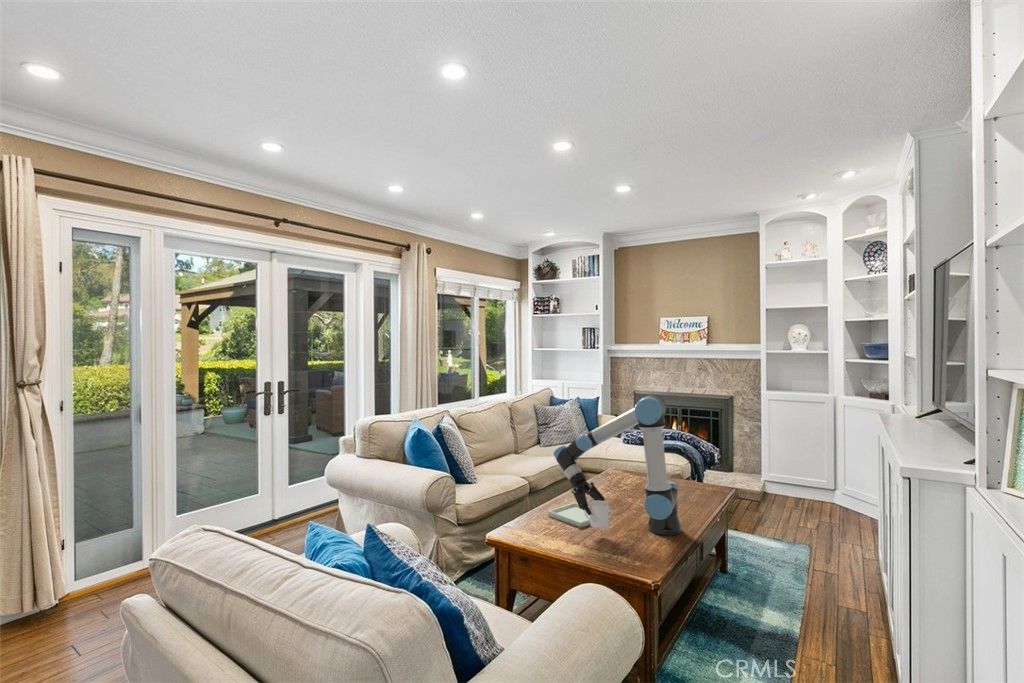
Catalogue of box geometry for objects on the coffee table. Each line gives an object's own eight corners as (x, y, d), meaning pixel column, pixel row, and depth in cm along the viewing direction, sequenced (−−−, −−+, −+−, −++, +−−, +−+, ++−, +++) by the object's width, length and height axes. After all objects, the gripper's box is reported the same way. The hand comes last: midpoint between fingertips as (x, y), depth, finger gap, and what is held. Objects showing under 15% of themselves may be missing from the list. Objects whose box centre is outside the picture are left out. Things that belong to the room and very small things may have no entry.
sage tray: (607, 518, 255) (607, 513, 255) (580, 528, 242) (580, 522, 242) (574, 507, 272) (574, 502, 272) (547, 515, 259) (547, 510, 259)
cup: (602, 530, 226) (602, 507, 226) (579, 524, 234) (579, 502, 234) (611, 524, 233) (611, 502, 233) (589, 519, 240) (589, 497, 240)
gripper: (585, 476, 252) (611, 517, 240) (556, 484, 238) (582, 528, 226) (593, 467, 248) (620, 508, 236) (564, 475, 234) (591, 519, 222)
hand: (601, 518), depth 231 cm, fingers closed on cup, 8 cm apart
